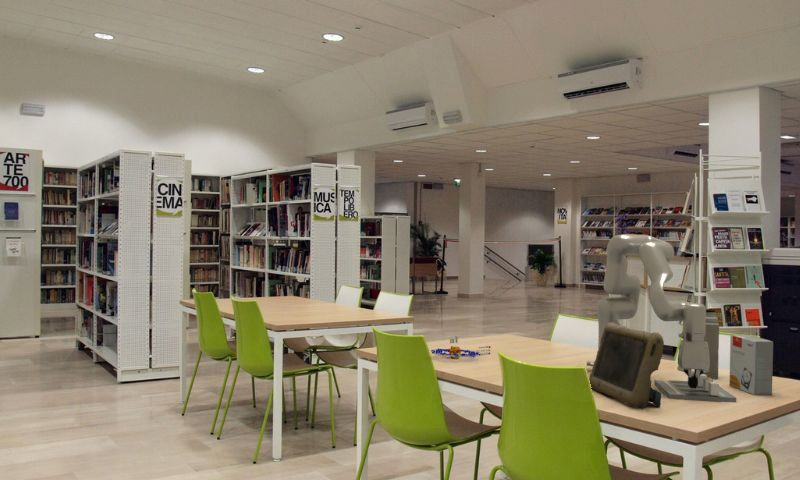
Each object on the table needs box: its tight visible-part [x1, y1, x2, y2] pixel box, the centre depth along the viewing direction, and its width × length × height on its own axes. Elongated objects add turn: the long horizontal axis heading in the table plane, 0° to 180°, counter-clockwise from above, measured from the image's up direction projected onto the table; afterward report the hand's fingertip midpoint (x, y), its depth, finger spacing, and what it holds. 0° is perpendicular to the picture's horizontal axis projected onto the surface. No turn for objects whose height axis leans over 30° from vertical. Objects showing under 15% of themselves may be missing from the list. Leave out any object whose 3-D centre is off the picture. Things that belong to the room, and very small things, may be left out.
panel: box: [654, 379, 737, 403], centre depth 240 cm, size 22×25×2 cm
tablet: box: [588, 322, 665, 410], centre depth 231 cm, size 33×14×25 cm, turn 16°
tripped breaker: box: [703, 378, 714, 391], centre depth 236 cm, size 3×3×4 cm
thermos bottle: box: [702, 308, 720, 380], centre depth 270 cm, size 8×8×28 cm
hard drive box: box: [729, 334, 774, 396], centre depth 246 cm, size 16×8×20 cm, turn 5°
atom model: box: [428, 335, 492, 360], centre depth 304 cm, size 35×26×10 cm
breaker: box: [708, 381, 720, 396], centre depth 229 cm, size 3×3×4 cm
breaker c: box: [698, 374, 707, 387], centre depth 243 cm, size 3×3×4 cm
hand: (692, 387), depth 237 cm, fingers closed
